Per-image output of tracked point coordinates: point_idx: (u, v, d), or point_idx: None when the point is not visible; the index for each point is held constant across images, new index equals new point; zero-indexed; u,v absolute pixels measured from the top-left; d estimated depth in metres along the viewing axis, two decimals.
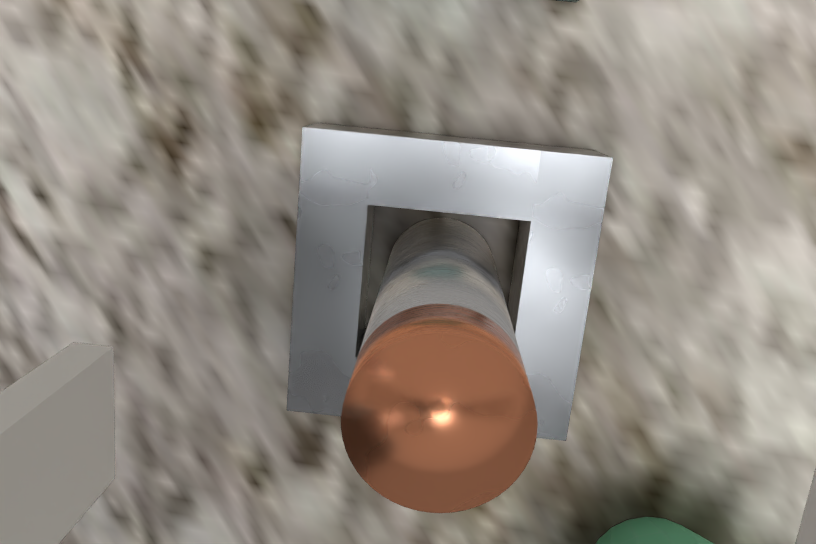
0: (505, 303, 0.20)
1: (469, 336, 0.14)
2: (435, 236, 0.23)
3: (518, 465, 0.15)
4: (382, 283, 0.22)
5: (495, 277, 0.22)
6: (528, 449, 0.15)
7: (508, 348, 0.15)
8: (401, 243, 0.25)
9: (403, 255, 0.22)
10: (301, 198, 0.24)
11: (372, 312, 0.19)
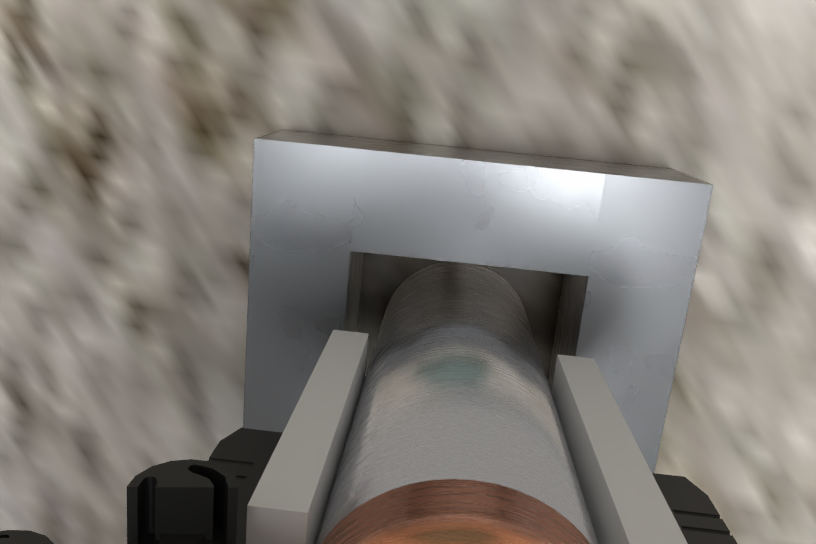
0: (559, 420, 0.13)
1: None
2: (448, 298, 0.16)
3: None
4: (368, 377, 0.14)
5: (539, 368, 0.14)
6: None
7: None
8: (399, 302, 0.17)
9: (400, 331, 0.15)
10: (254, 241, 0.16)
11: (347, 443, 0.12)
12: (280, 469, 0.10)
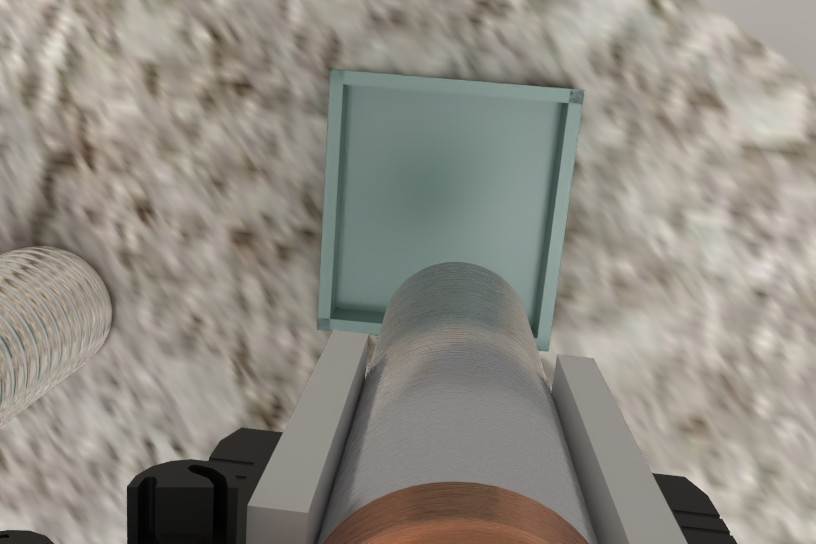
0: (559, 422, 0.13)
1: None
2: (448, 299, 0.16)
3: None
4: (368, 378, 0.14)
5: (540, 370, 0.14)
6: None
7: None
8: (399, 303, 0.17)
9: (400, 332, 0.15)
10: None
11: (347, 445, 0.12)
12: (280, 469, 0.10)
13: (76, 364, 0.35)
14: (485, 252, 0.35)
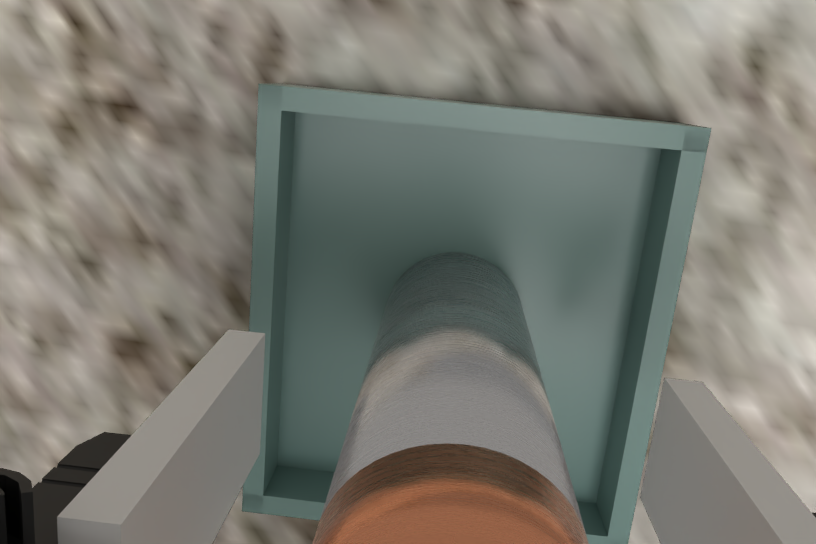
0: (547, 398, 0.14)
1: (504, 537, 0.08)
2: (446, 287, 0.17)
3: None
4: (371, 359, 0.15)
5: (530, 351, 0.15)
6: None
7: (569, 538, 0.09)
8: (401, 291, 0.19)
9: (401, 317, 0.16)
10: None
11: (352, 417, 0.13)
12: (109, 477, 0.09)
13: None
14: None
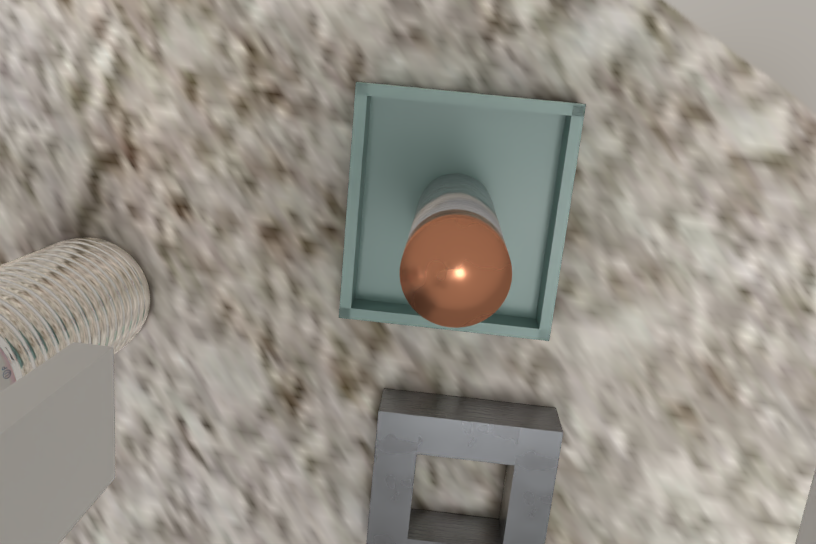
0: None
1: (473, 221, 0.25)
2: (452, 182, 0.34)
3: (501, 297, 0.26)
4: (417, 211, 0.32)
5: (492, 207, 0.33)
6: (507, 288, 0.25)
7: (496, 231, 0.26)
8: (428, 189, 0.36)
9: (430, 193, 0.33)
10: (376, 449, 0.39)
11: (412, 224, 0.30)
12: None
13: (119, 345, 0.38)
14: None
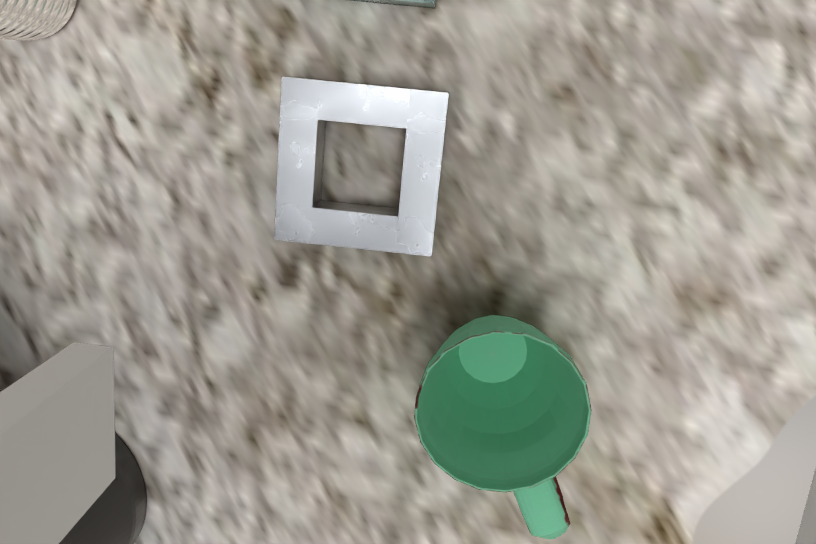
0: None
1: None
2: None
3: None
4: None
5: None
6: None
7: None
8: None
9: None
10: (281, 116, 0.43)
11: None
12: None
13: (44, 11, 0.42)
14: None
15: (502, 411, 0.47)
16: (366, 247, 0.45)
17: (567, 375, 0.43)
